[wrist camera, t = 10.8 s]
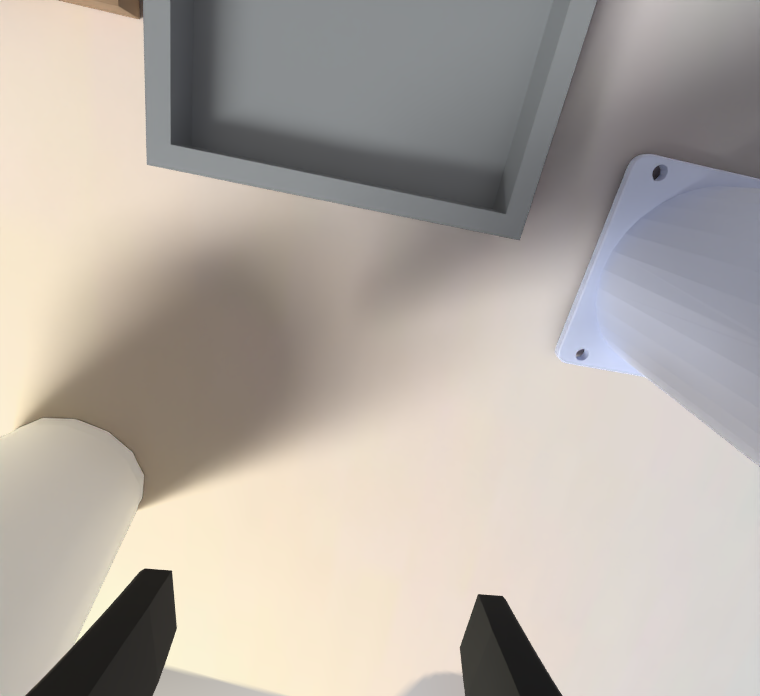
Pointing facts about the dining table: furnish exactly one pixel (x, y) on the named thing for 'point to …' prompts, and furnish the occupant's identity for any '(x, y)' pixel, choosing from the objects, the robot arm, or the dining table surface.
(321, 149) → the gray tray
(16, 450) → the foam cup
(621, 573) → the dining table surface
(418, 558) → the dining table surface
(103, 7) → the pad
